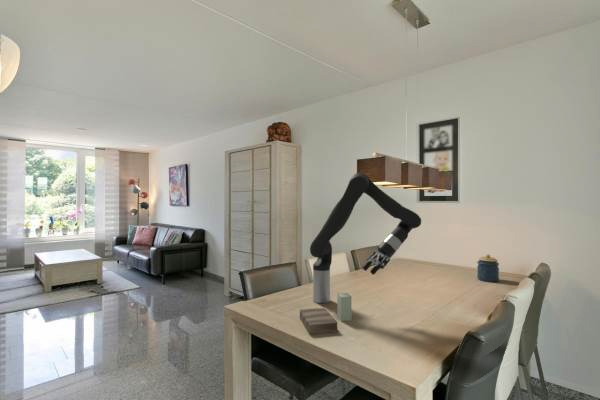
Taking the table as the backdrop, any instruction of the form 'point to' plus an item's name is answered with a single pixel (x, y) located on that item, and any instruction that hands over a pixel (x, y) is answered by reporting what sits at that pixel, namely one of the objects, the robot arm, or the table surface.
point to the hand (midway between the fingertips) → (367, 271)
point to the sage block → (344, 307)
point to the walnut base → (318, 321)
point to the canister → (488, 269)
